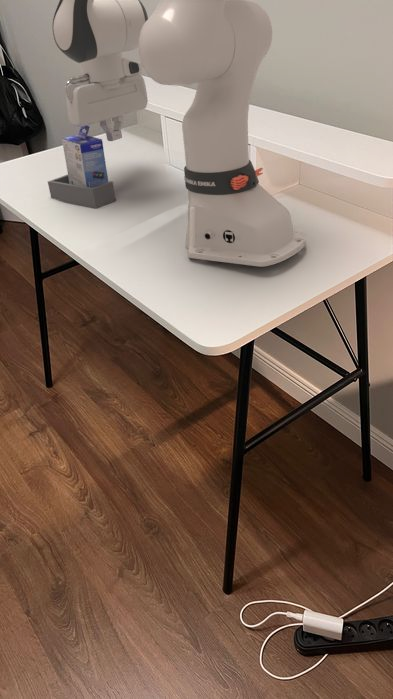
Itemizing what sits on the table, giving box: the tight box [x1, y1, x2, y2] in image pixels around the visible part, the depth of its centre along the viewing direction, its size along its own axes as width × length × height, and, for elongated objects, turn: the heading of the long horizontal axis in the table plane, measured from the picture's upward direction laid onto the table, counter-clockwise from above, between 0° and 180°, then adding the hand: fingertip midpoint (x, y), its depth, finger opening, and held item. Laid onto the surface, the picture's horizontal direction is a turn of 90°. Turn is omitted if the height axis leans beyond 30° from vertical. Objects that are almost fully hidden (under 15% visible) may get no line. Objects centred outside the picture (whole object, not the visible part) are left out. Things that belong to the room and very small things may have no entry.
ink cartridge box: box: [61, 125, 109, 188], centre depth 132 cm, size 10×6×14 cm, turn 34°
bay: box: [47, 174, 117, 209], centre depth 132 cm, size 14×6×4 cm, turn 50°
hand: (114, 139), depth 135 cm, fingers closed
